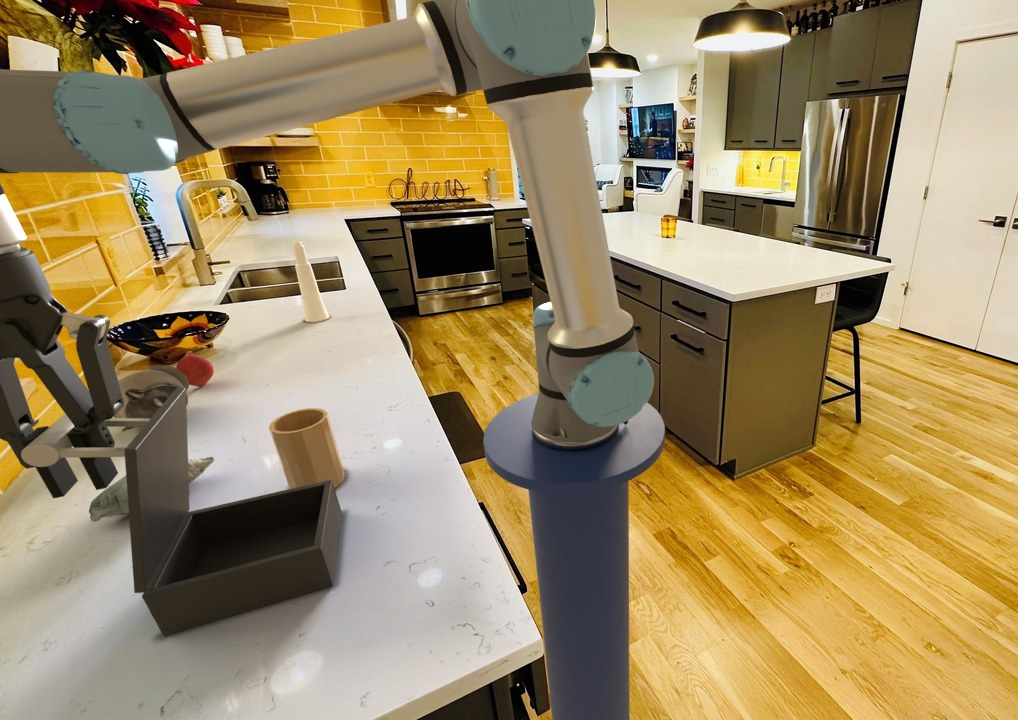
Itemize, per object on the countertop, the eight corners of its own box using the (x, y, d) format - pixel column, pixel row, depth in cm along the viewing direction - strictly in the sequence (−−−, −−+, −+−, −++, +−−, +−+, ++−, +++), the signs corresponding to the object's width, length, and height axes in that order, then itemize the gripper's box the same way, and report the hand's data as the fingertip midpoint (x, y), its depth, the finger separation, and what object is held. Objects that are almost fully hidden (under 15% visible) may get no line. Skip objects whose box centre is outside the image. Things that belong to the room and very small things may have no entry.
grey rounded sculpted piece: (208, 403, 98) (189, 354, 94) (181, 434, 88) (158, 381, 84) (144, 411, 95) (122, 362, 91) (108, 444, 85) (81, 390, 81)
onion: (184, 395, 101) (169, 359, 98) (182, 386, 105) (168, 351, 102) (220, 387, 105) (207, 352, 101) (217, 378, 108) (204, 344, 105)
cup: (346, 464, 80) (329, 404, 76) (342, 490, 74) (324, 426, 70) (294, 475, 77) (274, 413, 73) (287, 503, 72) (264, 437, 67)
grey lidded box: (342, 513, 70) (332, 479, 67) (333, 585, 58) (320, 548, 56) (203, 548, 64) (186, 512, 61) (163, 636, 52) (141, 596, 50)
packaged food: (219, 472, 78) (207, 445, 76) (163, 525, 67) (148, 496, 65) (158, 476, 77) (144, 450, 75) (91, 531, 66) (73, 502, 64)
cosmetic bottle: (333, 315, 147) (314, 240, 139) (322, 322, 142) (302, 244, 133) (311, 315, 147) (291, 240, 138) (300, 322, 141) (278, 244, 133)
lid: (186, 387, 56) (77, 383, 52) (135, 449, 45) (-8, 450, 41) (189, 508, 61) (90, 513, 57) (144, 592, 50) (17, 606, 46)
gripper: (-237, 270, 35) (-52, 532, 44) (65, 252, 41) (171, 486, 50) (-142, 250, 41) (3, 483, 50) (107, 237, 47) (195, 448, 56)
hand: (86, 484), depth 50 cm, fingers closed on lid, 2 cm apart
